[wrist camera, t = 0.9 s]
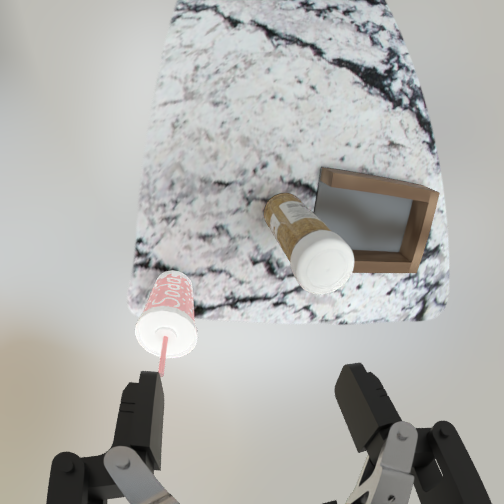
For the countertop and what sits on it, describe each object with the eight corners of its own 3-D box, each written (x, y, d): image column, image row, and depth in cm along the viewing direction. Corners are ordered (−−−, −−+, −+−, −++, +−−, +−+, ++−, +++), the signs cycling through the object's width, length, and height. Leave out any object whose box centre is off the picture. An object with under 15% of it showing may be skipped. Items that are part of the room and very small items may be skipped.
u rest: (321, 166, 31) (333, 172, 28) (422, 185, 33) (439, 192, 30) (305, 258, 35) (314, 272, 32) (402, 261, 38) (416, 273, 35)
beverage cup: (206, 275, 34) (208, 362, 22) (188, 314, 36) (184, 403, 24) (158, 256, 33) (133, 338, 20) (143, 297, 35) (119, 384, 22)
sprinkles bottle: (256, 220, 32) (284, 284, 20) (276, 184, 31) (319, 228, 19) (290, 237, 34) (333, 304, 22) (311, 203, 32) (367, 255, 20)
